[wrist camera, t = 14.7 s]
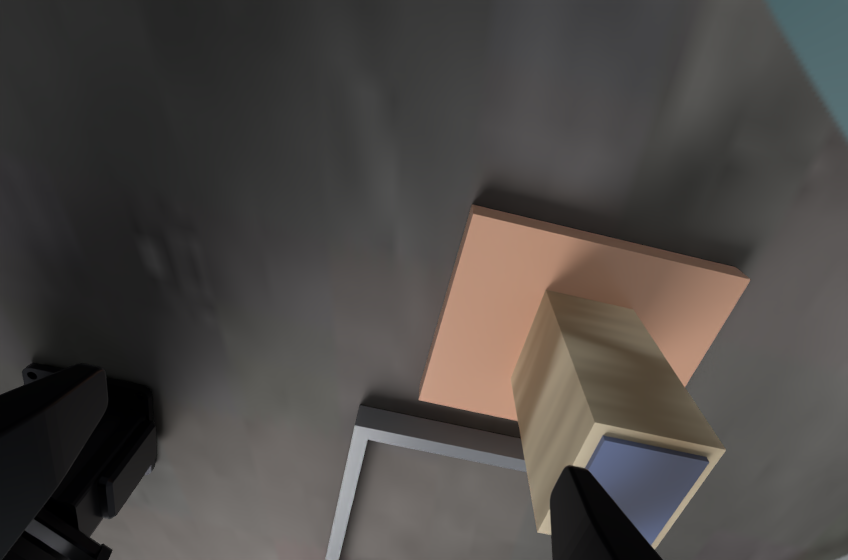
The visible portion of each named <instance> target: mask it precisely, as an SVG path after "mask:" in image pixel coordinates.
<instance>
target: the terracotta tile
mask: <svg viewBox="0 0 848 560" xmlns="http://www.w3.org/2000/svg"><path fill="white" fill-rule="evenodd" d="M750 280H751V279H749V278H748V277H747V276H746V275H745V274H743V273H742V272H741V271H740V270H739V269H737V268H736V267H733V266H729V265H725V264H720V263H716V262H712V261H708V260H704V259H699V258H695V257H691V256H687V255H683V254H678V253H674V252H670V251H666V250H662V249H657V248H653V247H649V246H645V245H641V244H636V243H632V242H628V241H624V240H620V239H615V238H611V237H607V236H603V235H599V234H595V233H590V232H586V231H582V230H578V229H574V228H569V227H565V226H561V225H557V224H553V223H548V222H544V221H540V220H536V219H532V218H527V217H523V216H519V215H515V214H511V213H506V212H502V211H498V210H494V209H490V208H485V207H481V206H477V205H473V204H472V206H471V209H470V213H469V216H468V220H467V223H466V226H465V230H464V233H463V237H462V240H461V244H460V247H459V251H458V254H457V258H456V261H455V265H454V268H453V271H452V275H451V278H450V282H449V285H448V289H447V292H446V296H445V299H444V303H443V306H442V310H441V313H440V316H439V320H438V323H437V327H436V330H435V334H434V337H433V341H432V344H431V348H430V351H429V355H428V358H427V361H426V365H425V368H424V372H423V375H422V379H421V382H420V389H419V400H420V401H425V402H430V403H435V404H439V405H444V406H449V407H454V408H458V409H463V410H468V411H473V412H477V413H482V414H487V415H492V416H496V417H501V418H506V419H511V420H515V421H518V419H517V413H516V407H515V401H514V396H513V390H512V384H511V376H512V374H513V371H514V369H515V366H516V364H517V361H518V359H519V356H520V354H521V351H522V348H523V346H524V343H525V341H526V338H527V336H528V333H529V331H530V328H531V326H532V323H533V320H534V318H535V315H536V313H537V310H538V308H539V305H540V303H541V300H542V298H543V295H544V292H545V290H550V291H554V292H558V293H563V294H567V295H572V296H576V297H580V298H585V299H589V300H594V301H598V302H603V303H607V304H611V305H616V306H620V307H625V308H629V309H633V310H634V311H635V313H636V314H637V316H638V317H639V319H640V320H641V322H642V323H643V325H644V326H645V328H646V329H647V331H648V332H649V334H650V335H651V337H652V338H653V340H654V341H655V343H656V344H657V346H658V347H659V349H660V351H661V352H662V354H663V355H664V357H665V358H666V360H667V361H668V363H669V364H670V366H671V367H672V369H673V370H674V372H675V373H676V375H677V376H678V378H679V379H680V381H681V382H682V384H683V385H684V387H685V386H686V384H687V383H688V381H689V379H690V378H691V376H692V375H693V373H694V371H695V370H696V368H697V366H698V365H699V363H700V362H701V360H702V358H703V357H704V355H705V353H706V352H707V350H708V349H709V347H710V345H711V344H712V342H713V340H714V339H715V337H716V335H717V334H718V332H719V331H720V329H721V327H722V326H723V324H724V322H725V321H726V319H727V318H728V316H729V314H730V313H731V311H732V309H733V308H734V306H735V305H736V303H737V301H738V300H739V298H740V296H741V295H742V293H743V292H744V290H745V288H746V287H747V285H748V283H749V282H750Z"/></svg>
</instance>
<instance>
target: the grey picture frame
mask: <svg viewBox="0 0 848 560" xmlns="http://www.w3.org/2000/svg"><path fill="white" fill-rule="evenodd" d="M367 440H372V441H377V442H381V443H386V444H391V445H396V446H401V447H406V448H411V449H416V450H421V451H425V452H430V453H435V454H440V455H445V456H450V457H455V458H460V459H465V460H470V461H474V462H479V463H484V464H489V465H494V466H499V467H504V468H509V469H514V470H518V471H523V472H527V470H526V464H525V459H524V453H523V447H522V441H521V439H520V438H515V437H511V436H506V435H501V434H496V433H491V432H487V431H482V430H477V429H472V428H467V427H463V426H458V425H453V424H448V423H443V422H439V421H434V420H429V419H424V418H419V417H415V416H410V415H405V414H400V413H395V412H391V411H386V410H381V409H376V408H372V407H367V406H362V405H360V406H359V410H358V415H357V419H356V423H355V427H354V432H353V436H352V441H351V445H350V450H349V454H348V459H347V464H346V468H345V473H344V477H343V482H342V486H341V491H340V495H339V500H338V504H337V509H336V513H335V518H334V522H333V527H332V532H331V536H330V541H329V545H328V550H327V554H326V559H325V560H339V556H340V552H341V548H342V544H343V540H344V536H345V532H346V527H347V523H348V519H349V515H350V511H351V507H352V503H353V498H354V494H355V490H356V486H357V482H358V478H359V474H360V469H361V465H362V461H363V457H364V453H365V449H366V445H367Z"/></svg>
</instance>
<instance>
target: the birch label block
mask: <svg viewBox="0 0 848 560" xmlns="http://www.w3.org/2000/svg"><path fill="white" fill-rule="evenodd" d="M511 384H512V390H513V396H514V401H515V407H516V413H517V419H518V424H519V430H520V436H521V441H522V447H523V453H524V459H525V464H526V470H527V476H528V481H529V487H530V493H531V498H532V504H533V510H534V516H535V521H536V527H537V532H539V533H544V534H549V535H551V520H550V495H551V492H552V490H553V488H554V486H555V484H556V482H557V480H558V478H559V476H560V474H561V472H562V470H563V469H564V467H566V466H567V465H573V466H577V467H582V468H586V469H587V470H589V471H590V472H591V473H592V475H593V476H594V477H595V478H596V480H597V481H598V482H599V483H600V484H601V486H602V487H603V488H604V489H605V490H606V492H607V493H608V494H609V495H610V496H611V498H612V499H613V500H614V501H615V503H616V504H617V505H618V506H619V507H620V509H621V510H622V511H623V512H624V513H625V515H626V516H627V517H628V518H629V519H630V521H631V522H632V523H633V524H634V526H635V527H636V528H637V529H638V530H639V532H640V533H641V534H642V535H643V536H644V538H645V539H646V540H647V541H648V542H649V544H650V545H651V546H652V547H653V549H654V550H655V549H656V547H657V546H658V544H659V543H660V542H661V540H662V539H663V537H664V536H665V535H666V533H667V532H668V530H669V529H670V528H671V526H672V525H673V523H674V522H675V521H676V519H677V518H678V516H679V515H680V514H681V512H682V511H683V509H684V508H685V507H686V505H687V504H688V502H689V501H690V500H691V498H692V497H693V495H694V494H695V493H696V491H697V490H698V488H699V487H700V486H701V484H702V483H703V481H704V480H705V479H706V477H707V476H708V475H709V473H710V472H711V470H712V469H713V468H714V466H715V465H716V463H717V462H718V461H719V459H720V458H721V456H722V455H723V454H724V452H725V451H726V449H725V448H724V446H723V445H722V443H721V442H720V440H719V439H718V437H717V435H716V434H715V432H714V431H713V429H712V428H711V426H710V425H709V423H708V422H707V420H706V419H705V417H704V416H703V414H702V413H701V411H700V410H699V408H698V407H697V405H696V404H695V402H694V401H693V399H692V398H691V396H690V395H689V393H688V391H687V390H686V388H685V387H684V385H683V384H682V382H681V381H680V379H679V378H678V376H677V375H676V373H675V372H674V370H673V369H672V367H671V366H670V364H669V363H668V361H667V360H666V358H665V357H664V355H663V354H662V352H661V351H660V349H659V347H658V346H657V344H656V343H655V341H654V340H653V338H652V337H651V335H650V334H649V332H648V331H647V329H646V328H645V326H644V325H643V323H642V322H641V320H640V319H639V317H638V316H637V314H636V313H635V311H634V310H633V309H629V308H625V307H620V306H616V305H611V304H607V303H603V302H598V301H594V300H589V299H585V298H580V297H576V296H572V295H567V294H563V293H558V292H554V291H550V290H545V292H544V295H543V298H542V300H541V303H540V305H539V308H538V310H537V313H536V315H535V318H534V320H533V323H532V326H531V328H530V331H529V333H528V336H527V338H526V341H525V343H524V346H523V348H522V351H521V354H520V356H519V359H518V361H517V364H516V366H515V369H514V371H513V374H512V376H511Z"/></svg>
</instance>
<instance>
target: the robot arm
mask: <svg viewBox="0 0 848 560" xmlns="http://www.w3.org/2000/svg"><path fill="white" fill-rule="evenodd" d="M22 375H23V380H24V385H23V386H21V387H18V388H16V389H13V390H11V391H8V392H6V393H3V394H1V395H0V560H108V559H109V557H110V555H111V553H112V549H110V548H109V547H108V546H106V545H105V544H101V545H100V544H99V543H97V542H96V541H94V540H93V539H91V538H90V536H91V535H92V533H93V532H94V531H95V529H96V528H97V526H98V525H99V523H100V522H101V521H102V519H103V518H107V519H111V518H113V517H114V516H116V515H117V514H118V512H119V511H120V509H121V508H122V506H123V505H124V504H125V502H126V501H127V499H128V498H129V496H130V495H131V493H132V492H133V490H134V489H135V488H136V486H137V485H138V483H139V482H140V480H141V479H142V477H143V476H144V475H148V474H150V473H151V472H152V470H153V469H154V467H155V458H156V457H157V440H156V425H155V423H154V422H153V397H152V391H151V390H150V389H149V388H148V387H146V386H143V385H139V384H134V383H129V382H125V381H120V380H115V379H110V378H106V372H105V370H104V369H103V368H101V367H99V366H94V365H89V364H84V363H80V364H76V365H73V366H71V367H68V368H66V369H61V368H56V367H51V366H47V365H42V364H37V363H32V364H30V365H28V366H27V367H26V368H25V369H24V370H23V371H22ZM140 394H141V395H140ZM550 520H551V539H552V558H553V560H663V559H662V558H661V557H660V556H659V555H658V553H657V552H656V551H655V550H654V549H653V547H652V546H651V545H650V544H649V542H648V541H647V540H646V539H645V538H644V536H643V535H642V534H641V533H640V532H639V530H638V529H637V528H636V527H635V526H634V524H633V523H632V522H631V521H630V519H629V518H628V517H627V516H626V515H625V513H624V512H623V511H622V510H621V509H620V507H619V506H618V505H617V504H616V503H615V501H614V500H613V499H612V498H611V496H610V495H609V494H608V493H607V492H606V490H605V489H604V488H603V487H602V486H601V484H600V483H599V482H598V481H597V480H596V478H595V477H594V476H593V475H592V473H591V472H590V471H589V470H587V469H586V468H582V467H577V466H573V465H567V466H566V467H564V469H563V470H562V472H561V474H560V476H559V478H558V480H557V482H556V484H555V486H554V488H553V490H552V492H551V495H550Z"/></svg>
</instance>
